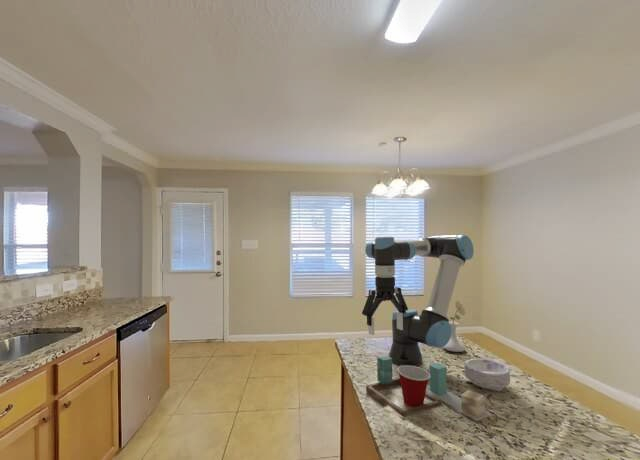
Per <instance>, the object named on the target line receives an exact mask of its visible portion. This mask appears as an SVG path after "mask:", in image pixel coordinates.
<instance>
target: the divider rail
mask: <svg viewBox="0 0 640 460" xmlns="http://www.w3.org/2000/svg"><path fill="white" fill-rule="evenodd" d="M431 395H432V394H431ZM432 396H434V395H432ZM436 398H437V397H436ZM437 399H439V398H437ZM441 401H442V400H441ZM442 404H443V405H445V406H447V407H448V408H450V409H452V410H453V411H455V412H456V413H458V414H460V415H462V416H463V417H465V418H466V419H468V420H470V421H472V422H473V423H475V424H477V425H478V424H479V422H478V421H476V420H475V419H473V418H471V417H470V416H468V415H466V414H464V413H463V412H461V411H459V410H458V409H456V408H454V407H453V406H451V405H449V404H447V403H446V402H444V401H442Z"/></svg>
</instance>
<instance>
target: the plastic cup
mask: <svg viewBox="0 0 640 460" xmlns="http://www.w3.org/2000/svg"><path fill="white" fill-rule="evenodd" d="M397 373H398V375H399V377H400V381H401V384H400V387H401V393H402V397H403V403H404V405H406V406H408V407H409V408H410V407H411V408H414V407H417V406H420V405H424V404H425V398H426V396H425V394H426V392H427V387H428V383H429V382H430V377H431V375H430V371H428V370H426V369H424V368H422V367H419V366H417V365H415V366H410V365H399V366H398V367H397Z"/></svg>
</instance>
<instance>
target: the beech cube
mask: <svg viewBox="0 0 640 460" xmlns="http://www.w3.org/2000/svg"><path fill="white" fill-rule="evenodd" d="M460 396H461V397H460V398H461V402H462V411H463V412H466V413H468V414H471V415H473V416H475V417H480V416H481V415H482V414H483V413H484V412H485V411H486V409H485V395H483V394H481V393H478V392H475V391H473V390H470V389H468V390H467V389H466V390H465V392H463V393H462V394H461V395H460ZM463 412H462V413H463Z"/></svg>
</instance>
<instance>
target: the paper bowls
mask: <svg viewBox="0 0 640 460" xmlns="http://www.w3.org/2000/svg"><path fill="white" fill-rule="evenodd" d="M510 373H511V371H510V368H509V367H508V366H506V364H503V363H501V362H499V361H496V360H491V359H487V358H470V359H467V360H465V362H464V375H465V378H466V379H467V380H469V381H470V382H471V383H472V384H474V385H476V386H477V387H479V388H483V389H487V390H491V391H492V390H493V391H495V392H501V391H502V390H504V388H505V387H508V386H509V385H510V384H511V375H510Z"/></svg>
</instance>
